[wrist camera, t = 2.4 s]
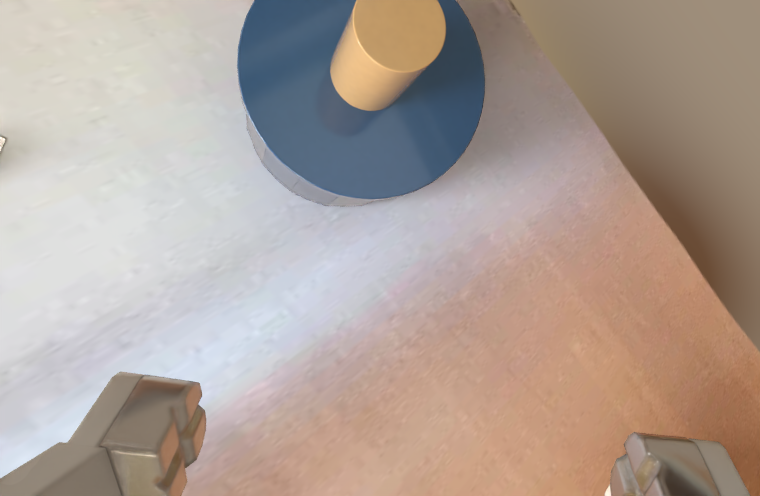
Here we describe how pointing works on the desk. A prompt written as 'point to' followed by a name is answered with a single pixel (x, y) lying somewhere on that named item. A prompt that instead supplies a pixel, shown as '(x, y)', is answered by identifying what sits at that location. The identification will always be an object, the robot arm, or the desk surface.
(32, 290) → the desk surface
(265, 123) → the lid
